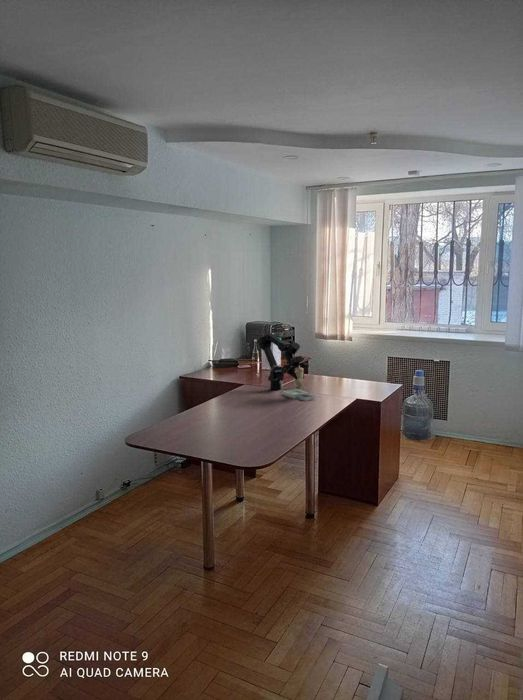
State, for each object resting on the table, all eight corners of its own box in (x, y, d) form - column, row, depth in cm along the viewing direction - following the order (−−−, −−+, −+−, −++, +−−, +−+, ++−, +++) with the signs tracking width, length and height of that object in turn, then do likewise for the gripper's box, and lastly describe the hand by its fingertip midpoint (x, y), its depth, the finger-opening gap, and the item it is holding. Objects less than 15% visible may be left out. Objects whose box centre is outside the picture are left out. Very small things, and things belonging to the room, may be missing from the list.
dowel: (293, 388, 324) (294, 368, 322) (296, 387, 328) (297, 367, 326) (301, 389, 321) (301, 369, 320) (303, 388, 326) (304, 368, 324)
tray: (282, 395, 330) (282, 391, 330) (297, 393, 336) (297, 389, 336) (293, 398, 320) (293, 394, 320) (308, 396, 327) (308, 392, 326)
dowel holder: (297, 398, 320) (297, 395, 320) (307, 397, 324) (307, 394, 324) (304, 401, 314) (304, 397, 314) (314, 399, 318) (314, 396, 318)
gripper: (284, 352, 320) (293, 372, 312) (308, 350, 329) (318, 370, 322) (276, 362, 327) (286, 382, 320) (300, 360, 337) (310, 380, 330)
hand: (300, 378), depth 323 cm, fingers closed on dowel, 5 cm apart
